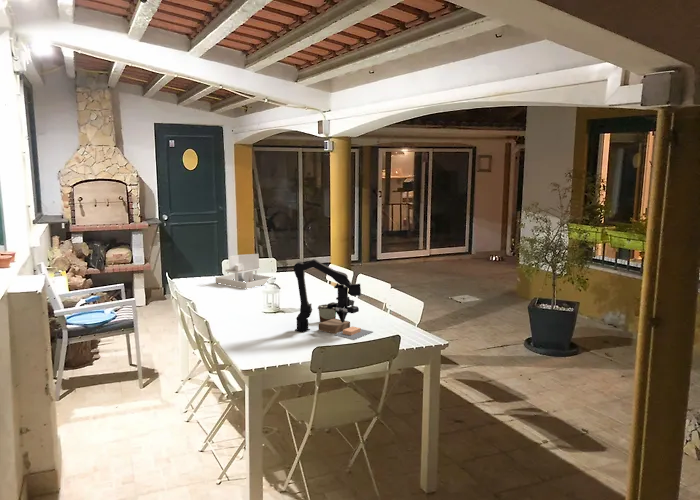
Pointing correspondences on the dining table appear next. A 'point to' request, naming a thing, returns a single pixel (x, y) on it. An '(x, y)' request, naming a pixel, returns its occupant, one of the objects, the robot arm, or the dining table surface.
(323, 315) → the food container
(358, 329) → the peach block
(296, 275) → the robot arm
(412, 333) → the dining table surface
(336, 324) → the brown flat block
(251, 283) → the holder corral
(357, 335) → the mat
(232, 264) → the architectural model
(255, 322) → the dining table surface
